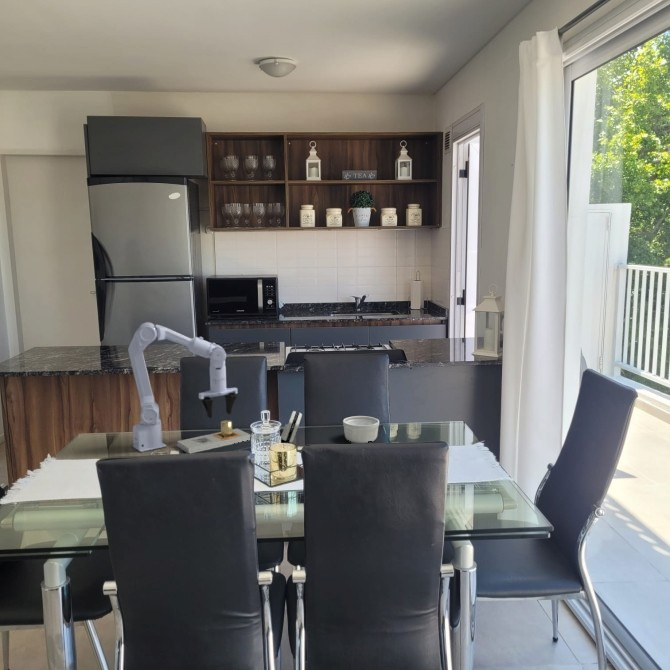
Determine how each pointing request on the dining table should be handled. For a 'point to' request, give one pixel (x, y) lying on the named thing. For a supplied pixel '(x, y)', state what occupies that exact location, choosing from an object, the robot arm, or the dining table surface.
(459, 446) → the dining table surface
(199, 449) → the grey rectangular board
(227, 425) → the peg
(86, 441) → the dining table surface
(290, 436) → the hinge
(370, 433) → the ramekin
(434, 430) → the dining table surface
